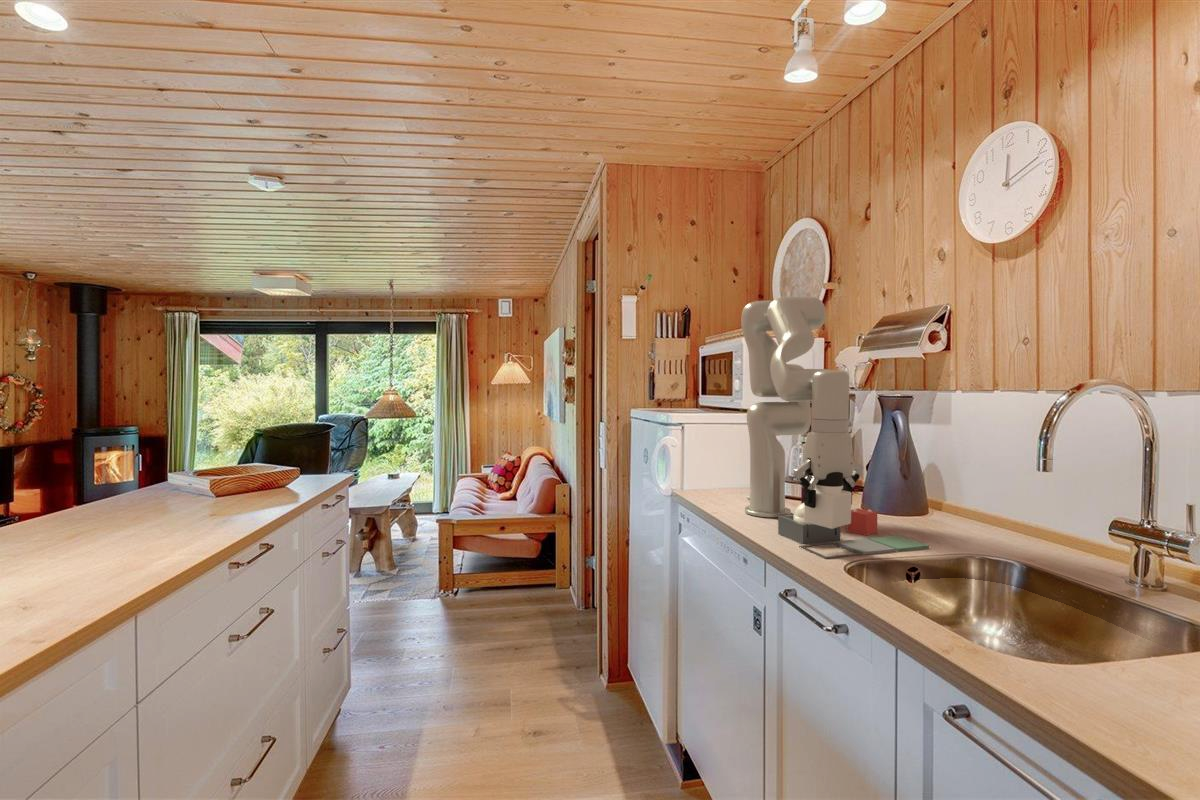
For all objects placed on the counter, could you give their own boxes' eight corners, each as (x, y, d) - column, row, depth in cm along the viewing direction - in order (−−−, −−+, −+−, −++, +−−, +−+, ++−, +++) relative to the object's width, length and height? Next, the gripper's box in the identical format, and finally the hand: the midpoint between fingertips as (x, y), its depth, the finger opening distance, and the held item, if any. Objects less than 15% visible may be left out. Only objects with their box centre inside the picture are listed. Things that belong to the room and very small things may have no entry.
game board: (799, 547, 129) (799, 544, 129) (897, 537, 136) (897, 535, 136) (825, 558, 120) (825, 556, 120) (929, 548, 127) (929, 545, 127)
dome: (787, 526, 139) (787, 500, 139) (812, 524, 141) (812, 499, 141) (804, 533, 133) (804, 506, 132) (830, 531, 134) (830, 504, 134)
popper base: (778, 533, 140) (778, 515, 140) (813, 530, 143) (813, 512, 143) (803, 544, 131) (803, 525, 131) (840, 541, 133) (840, 522, 133)
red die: (847, 531, 143) (847, 508, 142) (858, 527, 146) (858, 506, 145) (866, 535, 139) (866, 512, 138) (877, 531, 141) (877, 509, 141)
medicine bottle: (851, 524, 126) (852, 469, 125) (832, 529, 122) (833, 473, 121) (822, 516, 132) (823, 465, 131) (803, 521, 128) (804, 468, 127)
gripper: (851, 423, 131) (849, 498, 132) (784, 426, 127) (783, 503, 128) (875, 427, 124) (873, 506, 125) (805, 430, 119) (804, 512, 120)
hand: (828, 504), depth 126 cm, fingers closed on medicine bottle, 8 cm apart
